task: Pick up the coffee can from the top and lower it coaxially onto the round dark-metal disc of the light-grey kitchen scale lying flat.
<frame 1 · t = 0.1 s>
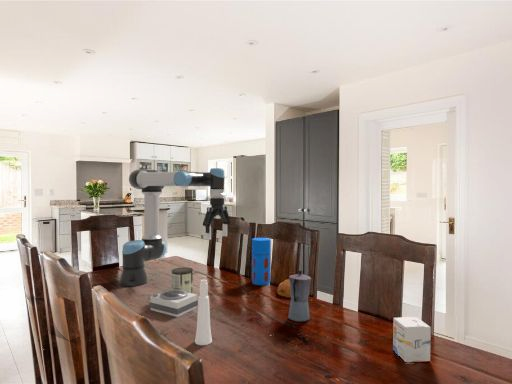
hand: (217, 237, 182), 28 cm above the table, tool pointing down, fingers open, 13 cm apart
moka pot: (299, 319, 144), on the table
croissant: (290, 294, 178), on the table
kitchen scale: (174, 308, 155), on the table
cosmetic bottle: (203, 342, 122), on the table
coffee can: (182, 298, 170), on the table
ink box: (410, 357, 112), on the table
thermos: (261, 282, 198), on the table
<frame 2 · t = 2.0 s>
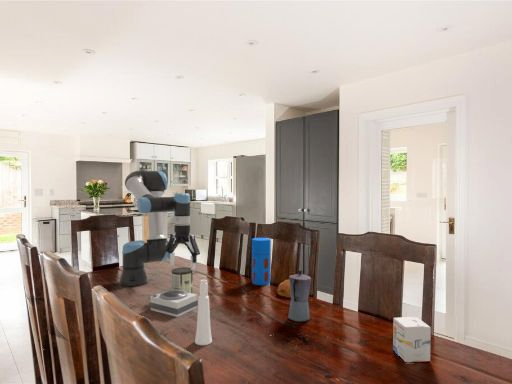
hand: (182, 267, 169), 15 cm above the table, tool pointing down, fingers open, 13 cm apart
nothing on the table moved.
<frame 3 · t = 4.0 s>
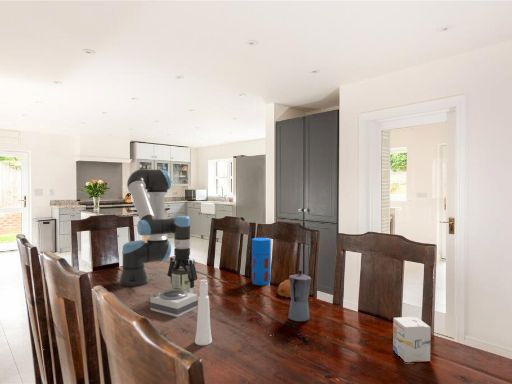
hand: (182, 292, 170), 3 cm above the table, tool pointing down, fingers closed on coffee can, 10 cm apart
coffee can: (182, 298, 170), on the table, touching gripper
everything else where it was.
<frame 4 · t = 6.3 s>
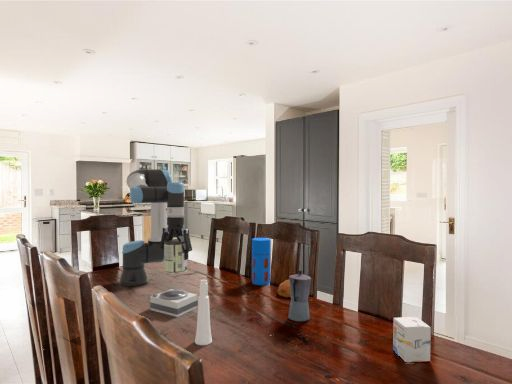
hand: (175, 265, 156), 19 cm above the table, tool pointing down, fingers closed on coffee can, 10 cm apart
coffee can: (175, 272, 156), point 16 cm above the table, touching gripper
everything else where it was.
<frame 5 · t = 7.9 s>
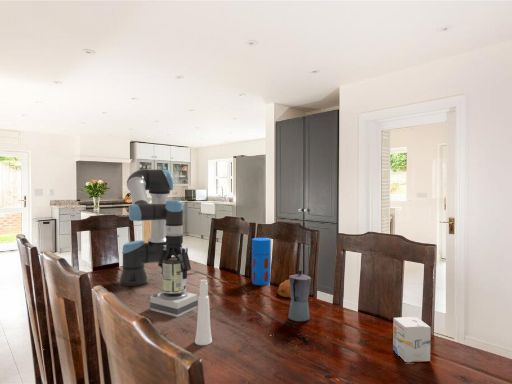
hand: (174, 284, 155), 11 cm above the table, tool pointing down, fingers closed on coffee can, 10 cm apart
coffee can: (174, 290, 155), point 8 cm above the table, touching gripper
everything else where it was.
when the fingers open (11 cm above the table, at t = 8.8 s): coffee can drops 1 cm, resting on kitchen scale.
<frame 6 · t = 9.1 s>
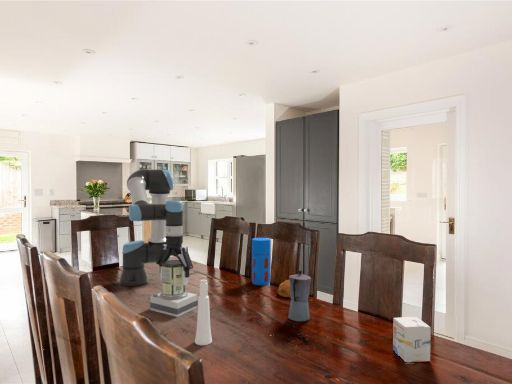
hand: (174, 282, 155), 12 cm above the table, tool pointing down, fingers open, 13 cm apart
coffee can: (173, 293, 155), point 7 cm above the table, touching kitchen scale
everything else where it was.
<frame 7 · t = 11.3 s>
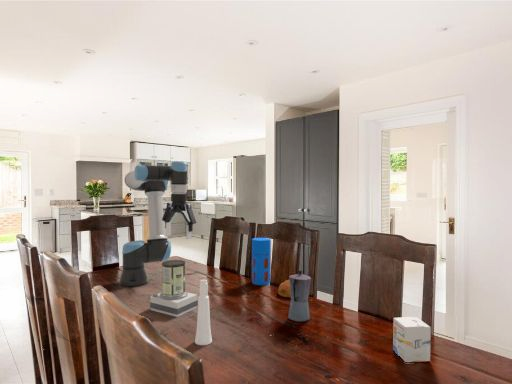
hand: (178, 236, 168), 30 cm above the table, tool pointing down, fingers open, 13 cm apart
nothing on the table moved.
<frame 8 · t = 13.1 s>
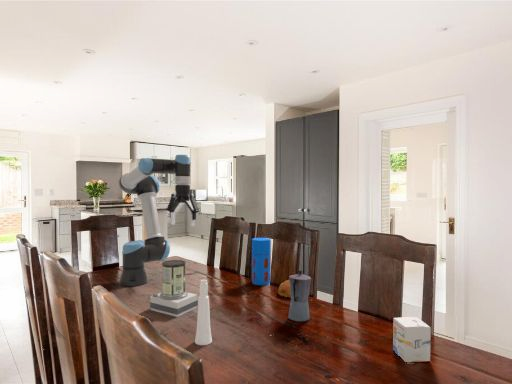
hand: (182, 225, 179), 35 cm above the table, tool pointing down, fingers open, 13 cm apart
nothing on the table moved.
at the end: coffee can 0.2 cm from the kitchen scale (horizontally); coffee can point 6.7 cm above the table; coffee can tilted 0° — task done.
